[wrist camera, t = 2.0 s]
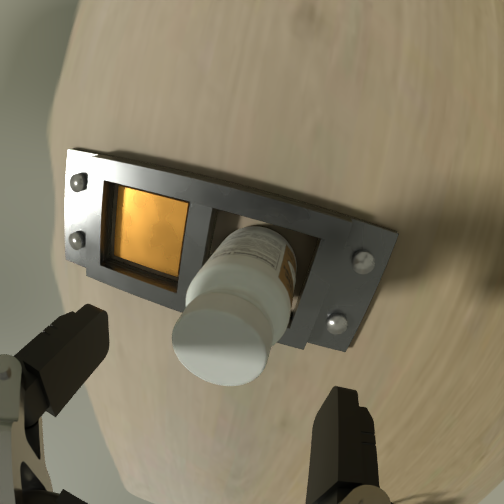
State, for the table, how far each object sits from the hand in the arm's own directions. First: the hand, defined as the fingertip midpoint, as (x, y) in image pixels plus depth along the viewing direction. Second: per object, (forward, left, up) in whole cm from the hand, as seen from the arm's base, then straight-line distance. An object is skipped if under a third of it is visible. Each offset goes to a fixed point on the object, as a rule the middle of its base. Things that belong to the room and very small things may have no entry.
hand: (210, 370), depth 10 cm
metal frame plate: (0, -3, -8) cm, 9 cm away
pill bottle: (0, 0, -9) cm, 9 cm away
